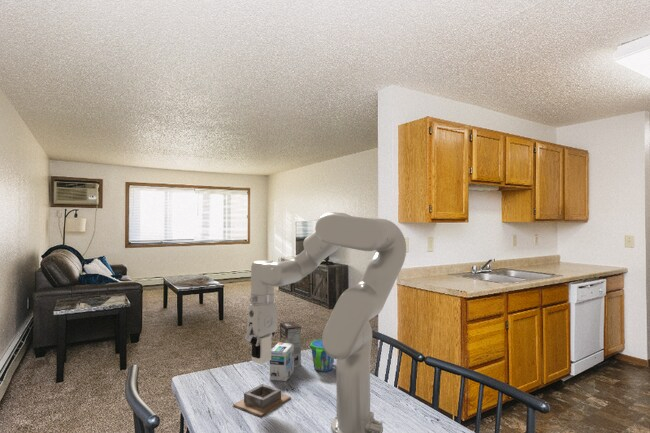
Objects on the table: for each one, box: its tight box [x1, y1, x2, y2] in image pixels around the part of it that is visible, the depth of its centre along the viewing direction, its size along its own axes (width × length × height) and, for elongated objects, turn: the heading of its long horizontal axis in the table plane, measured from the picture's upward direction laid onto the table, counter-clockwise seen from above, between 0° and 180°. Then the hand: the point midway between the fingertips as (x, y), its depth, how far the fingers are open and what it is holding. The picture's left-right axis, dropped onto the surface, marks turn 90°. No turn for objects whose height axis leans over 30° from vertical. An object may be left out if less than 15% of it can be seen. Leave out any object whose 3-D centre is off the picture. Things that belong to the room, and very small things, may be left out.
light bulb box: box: [269, 342, 295, 382], centre depth 139 cm, size 11×7×11 cm, turn 168°
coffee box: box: [279, 321, 302, 368], centre depth 151 cm, size 9×6×16 cm
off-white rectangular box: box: [251, 335, 272, 365], centre depth 118 cm, size 4×4×8 cm
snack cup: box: [309, 338, 335, 373], centre depth 145 cm, size 16×11×10 cm
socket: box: [233, 383, 292, 418], centre depth 117 cm, size 12×14×3 cm
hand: (261, 354), depth 118 cm, fingers closed on off-white rectangular box, 4 cm apart
